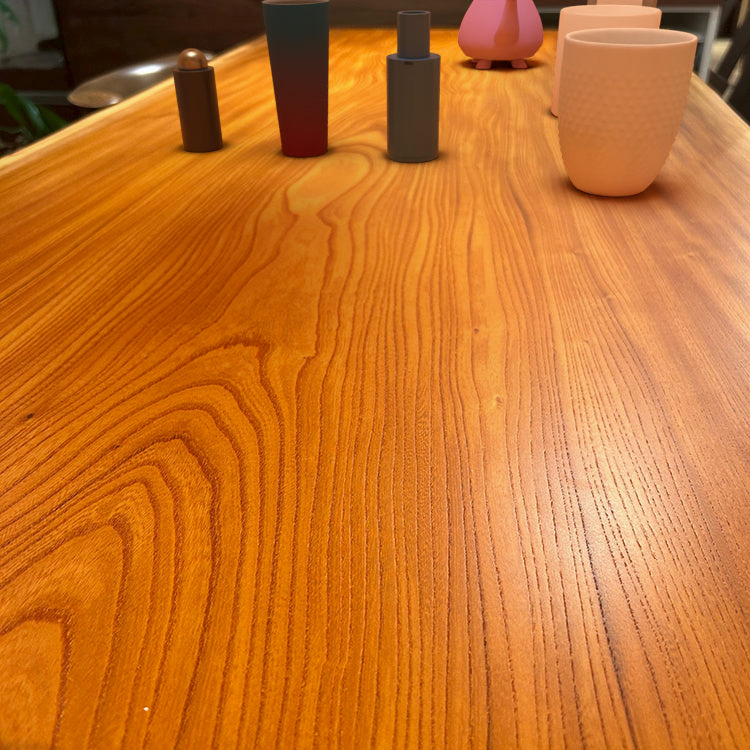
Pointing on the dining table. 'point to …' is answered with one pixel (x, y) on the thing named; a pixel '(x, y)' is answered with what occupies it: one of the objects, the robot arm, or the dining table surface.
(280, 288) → the dining table surface
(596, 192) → the mug
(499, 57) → the teapot
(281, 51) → the cup
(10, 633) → the dining table surface
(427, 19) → the bottle
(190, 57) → the pepper mill
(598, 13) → the cup
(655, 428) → the dining table surface
